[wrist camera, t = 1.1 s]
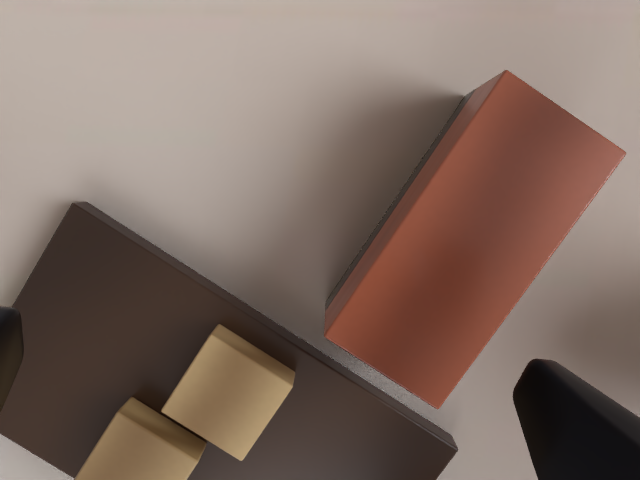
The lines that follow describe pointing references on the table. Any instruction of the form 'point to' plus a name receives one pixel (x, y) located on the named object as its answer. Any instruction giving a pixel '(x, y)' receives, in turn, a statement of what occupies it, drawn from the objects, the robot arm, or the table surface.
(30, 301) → the board
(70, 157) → the table surface
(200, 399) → the cork bit
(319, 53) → the table surface
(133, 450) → the cork bit
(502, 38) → the table surface
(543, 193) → the reddish orange block
